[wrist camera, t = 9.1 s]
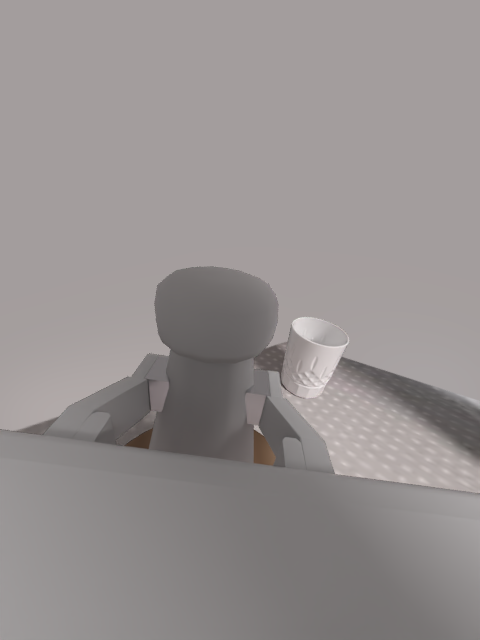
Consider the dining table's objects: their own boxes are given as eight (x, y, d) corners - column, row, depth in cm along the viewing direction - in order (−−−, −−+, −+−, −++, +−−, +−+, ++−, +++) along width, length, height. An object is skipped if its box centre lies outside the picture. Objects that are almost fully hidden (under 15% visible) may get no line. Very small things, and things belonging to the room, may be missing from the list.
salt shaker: (145, 455, 14) (129, 250, 9) (228, 433, 17) (257, 259, 11) (149, 583, 10) (119, 314, 4) (264, 527, 12) (349, 306, 6)
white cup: (285, 360, 40) (299, 311, 35) (329, 378, 37) (351, 328, 32) (269, 386, 34) (284, 332, 29) (321, 411, 31) (347, 355, 26)
